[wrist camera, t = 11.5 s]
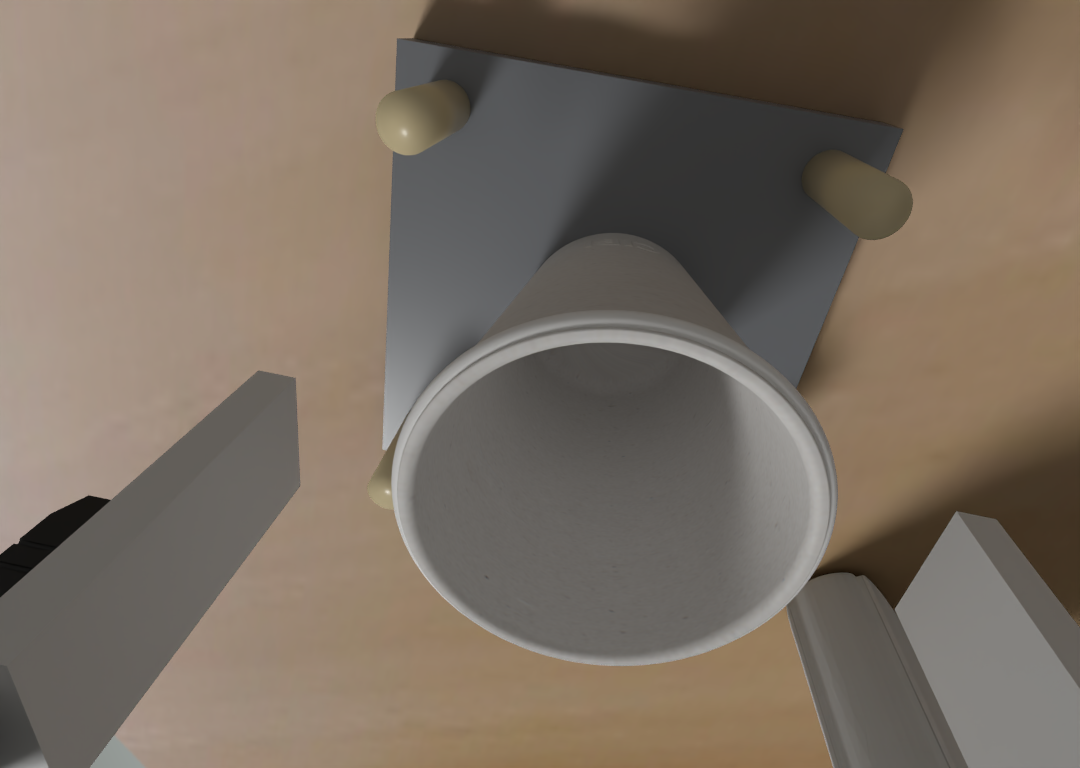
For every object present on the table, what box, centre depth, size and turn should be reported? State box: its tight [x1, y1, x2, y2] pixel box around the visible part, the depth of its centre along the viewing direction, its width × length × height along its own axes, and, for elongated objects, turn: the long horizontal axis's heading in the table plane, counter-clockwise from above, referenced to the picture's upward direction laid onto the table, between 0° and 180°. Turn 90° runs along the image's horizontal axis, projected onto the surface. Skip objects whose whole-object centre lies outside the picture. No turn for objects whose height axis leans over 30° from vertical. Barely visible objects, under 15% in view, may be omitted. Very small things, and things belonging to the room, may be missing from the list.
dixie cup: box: [391, 233, 838, 666], centre depth 16 cm, size 8×8×10 cm
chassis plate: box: [367, 38, 913, 510], centre depth 19 cm, size 14×14×6 cm
